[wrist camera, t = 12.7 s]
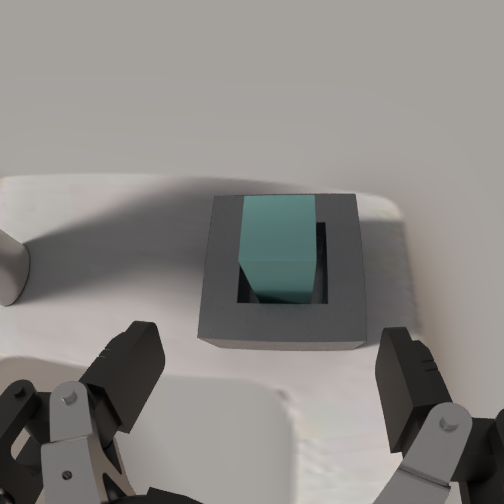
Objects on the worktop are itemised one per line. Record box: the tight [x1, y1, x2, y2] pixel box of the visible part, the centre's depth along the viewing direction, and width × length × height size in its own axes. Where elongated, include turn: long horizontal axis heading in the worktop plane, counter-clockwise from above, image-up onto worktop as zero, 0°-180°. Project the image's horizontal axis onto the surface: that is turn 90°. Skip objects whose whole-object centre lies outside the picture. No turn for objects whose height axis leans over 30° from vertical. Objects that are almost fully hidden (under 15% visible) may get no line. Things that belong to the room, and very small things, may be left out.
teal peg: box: [238, 195, 316, 304], centre depth 21 cm, size 4×4×10 cm
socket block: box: [197, 194, 367, 351], centre depth 24 cm, size 11×11×6 cm
